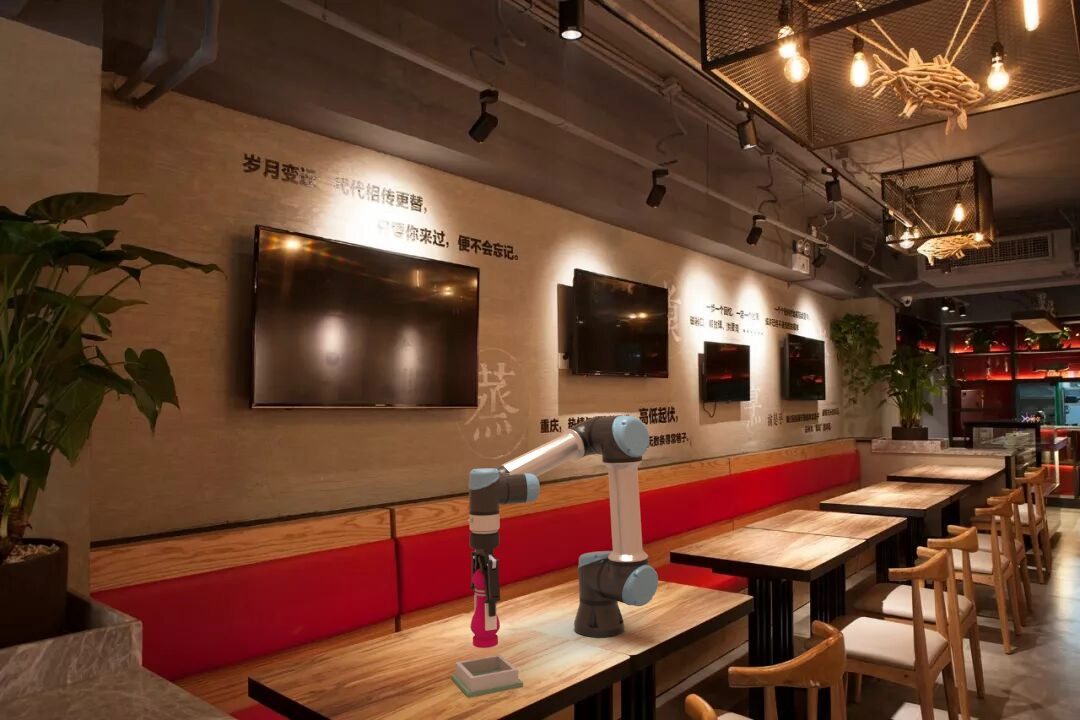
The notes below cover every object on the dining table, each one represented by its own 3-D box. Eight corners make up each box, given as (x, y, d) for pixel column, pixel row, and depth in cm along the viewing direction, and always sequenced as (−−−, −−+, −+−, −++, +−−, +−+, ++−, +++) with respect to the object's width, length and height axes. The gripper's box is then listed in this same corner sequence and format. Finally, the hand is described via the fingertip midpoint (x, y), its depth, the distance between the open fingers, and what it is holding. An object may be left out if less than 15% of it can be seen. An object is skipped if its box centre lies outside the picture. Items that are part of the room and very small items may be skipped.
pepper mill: (495, 649, 168) (494, 564, 170) (467, 648, 170) (466, 564, 171) (503, 640, 175) (502, 558, 177) (475, 638, 177) (474, 558, 178)
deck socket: (503, 669, 181) (503, 653, 181) (523, 686, 169) (522, 669, 169) (451, 678, 175) (451, 662, 175) (467, 697, 163) (467, 679, 163)
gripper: (457, 526, 182) (458, 616, 180) (484, 538, 164) (485, 638, 162) (484, 524, 185) (485, 613, 184) (513, 535, 167) (514, 634, 165)
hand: (485, 625), depth 173 cm, fingers closed on pepper mill, 7 cm apart
